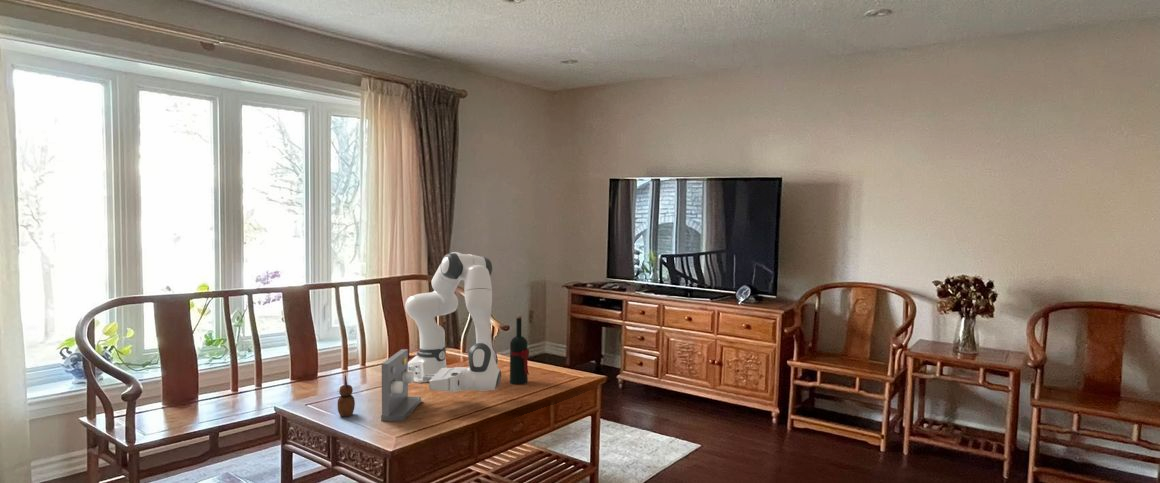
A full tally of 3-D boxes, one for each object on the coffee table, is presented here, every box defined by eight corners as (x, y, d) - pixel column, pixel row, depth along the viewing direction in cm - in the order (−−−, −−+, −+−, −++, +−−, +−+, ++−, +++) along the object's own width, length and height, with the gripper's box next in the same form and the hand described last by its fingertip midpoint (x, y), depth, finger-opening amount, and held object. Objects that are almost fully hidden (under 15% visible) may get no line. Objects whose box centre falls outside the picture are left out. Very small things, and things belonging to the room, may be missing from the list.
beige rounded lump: (413, 381, 259) (413, 370, 259) (410, 384, 255) (410, 373, 255) (405, 381, 259) (405, 370, 259) (402, 384, 255) (402, 373, 255)
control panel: (421, 401, 262) (420, 349, 261) (403, 421, 238) (402, 364, 237) (401, 401, 263) (400, 349, 262) (381, 421, 239) (380, 363, 238)
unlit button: (403, 391, 245) (403, 380, 245) (399, 395, 241) (399, 383, 241) (394, 391, 245) (394, 379, 245) (390, 394, 241) (390, 383, 241)
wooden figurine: (340, 412, 248) (340, 373, 247) (356, 412, 248) (356, 373, 248) (335, 418, 241) (335, 377, 240) (351, 418, 242) (351, 377, 241)
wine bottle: (520, 386, 285) (520, 318, 283) (506, 382, 292) (506, 315, 291) (534, 383, 290) (534, 316, 289) (520, 379, 298) (520, 313, 296)
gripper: (464, 364, 267) (430, 363, 267) (453, 377, 246) (416, 376, 247) (464, 379, 267) (430, 378, 267) (453, 394, 247) (416, 393, 247)
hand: (423, 378), depth 257 cm, fingers closed
